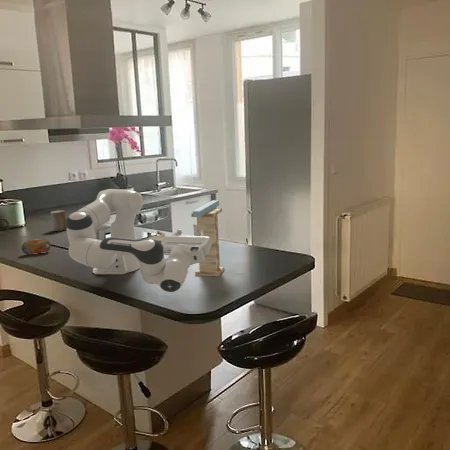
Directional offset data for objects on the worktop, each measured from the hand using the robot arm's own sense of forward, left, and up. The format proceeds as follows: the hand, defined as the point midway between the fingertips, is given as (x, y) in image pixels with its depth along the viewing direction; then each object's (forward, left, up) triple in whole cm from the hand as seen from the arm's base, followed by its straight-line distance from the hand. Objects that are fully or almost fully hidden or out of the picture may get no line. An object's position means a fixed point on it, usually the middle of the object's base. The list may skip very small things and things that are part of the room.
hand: (190, 230), depth 188 cm
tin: (-90, +75, -25) cm, 120 cm away
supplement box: (+4, +75, -25) cm, 80 cm away
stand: (+7, +22, -25) cm, 34 cm away
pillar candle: (-96, +139, -25) cm, 171 cm away
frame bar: (+7, +22, +4) cm, 23 cm away
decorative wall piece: (-24, +95, -26) cm, 101 cm away
